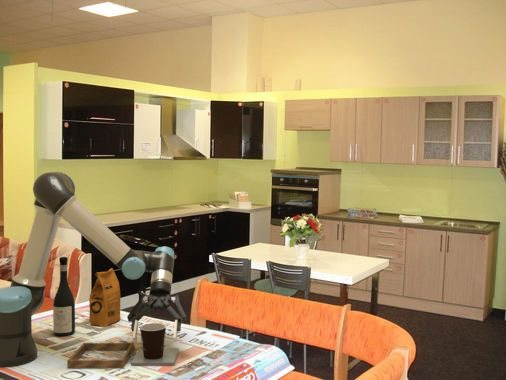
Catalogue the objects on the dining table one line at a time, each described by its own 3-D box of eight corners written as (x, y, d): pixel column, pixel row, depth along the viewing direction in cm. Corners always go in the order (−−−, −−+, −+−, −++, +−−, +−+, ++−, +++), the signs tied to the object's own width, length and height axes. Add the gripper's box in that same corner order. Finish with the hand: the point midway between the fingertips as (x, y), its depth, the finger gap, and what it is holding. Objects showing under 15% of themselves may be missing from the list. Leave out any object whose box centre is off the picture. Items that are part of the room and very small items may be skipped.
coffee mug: (160, 361, 177) (160, 331, 177) (136, 359, 179) (135, 330, 179) (173, 349, 189) (172, 321, 188) (149, 348, 191) (149, 320, 190)
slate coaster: (131, 365, 176) (130, 362, 176) (139, 351, 190) (139, 348, 190) (173, 365, 177) (173, 362, 177) (178, 351, 191) (178, 348, 191)
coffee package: (85, 325, 222) (84, 272, 221) (105, 317, 234) (104, 267, 233) (104, 328, 218) (104, 274, 217) (123, 320, 229) (123, 268, 229)
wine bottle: (70, 336, 206) (69, 259, 205) (50, 336, 207) (49, 259, 205) (78, 330, 214) (77, 255, 213) (58, 330, 215) (57, 255, 213)
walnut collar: (67, 368, 174) (67, 360, 174) (83, 349, 192) (83, 342, 192) (123, 368, 174) (123, 360, 174) (134, 349, 192) (134, 342, 192)
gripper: (196, 290, 198) (192, 344, 184) (128, 291, 198) (119, 344, 183) (194, 279, 193) (191, 333, 178) (124, 279, 192) (115, 334, 178)
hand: (154, 339), depth 181 cm, fingers open, 13 cm apart
